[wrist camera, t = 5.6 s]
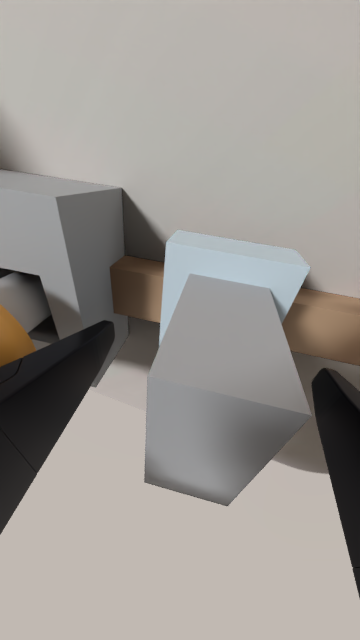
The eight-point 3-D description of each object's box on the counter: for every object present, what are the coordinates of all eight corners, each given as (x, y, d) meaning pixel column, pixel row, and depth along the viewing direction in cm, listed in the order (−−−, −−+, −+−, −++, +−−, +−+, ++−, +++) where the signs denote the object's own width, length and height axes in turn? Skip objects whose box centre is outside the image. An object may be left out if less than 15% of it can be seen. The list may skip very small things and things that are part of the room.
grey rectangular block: (121, 187, 11) (55, 197, 7) (128, 335, 17) (95, 387, 13) (-1, 168, 11) (-130, 166, 7) (47, 317, 17) (-8, 361, 13)
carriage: (295, 249, 9) (418, 395, 3) (240, 374, 13) (247, 521, 8) (177, 229, 9) (90, 323, 3) (164, 357, 14) (119, 483, 8)
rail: (406, 307, 11) (436, 330, 10) (370, 347, 13) (390, 372, 11) (124, 255, 13) (109, 267, 11) (126, 297, 14) (113, 313, 13)
